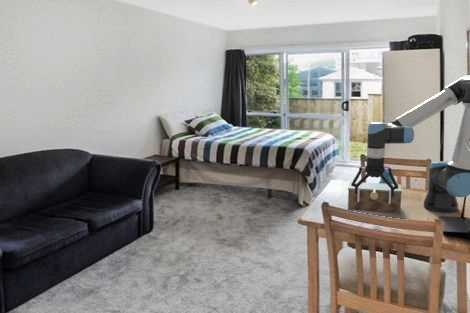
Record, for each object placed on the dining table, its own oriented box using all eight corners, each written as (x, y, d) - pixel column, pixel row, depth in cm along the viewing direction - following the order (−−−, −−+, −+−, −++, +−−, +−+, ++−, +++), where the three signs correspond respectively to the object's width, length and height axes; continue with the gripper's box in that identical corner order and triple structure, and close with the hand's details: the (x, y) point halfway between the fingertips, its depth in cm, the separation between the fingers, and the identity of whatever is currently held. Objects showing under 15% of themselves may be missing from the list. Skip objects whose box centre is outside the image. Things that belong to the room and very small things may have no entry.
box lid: (400, 188, 201) (400, 181, 200) (403, 202, 179) (403, 194, 179) (349, 186, 209) (349, 179, 208) (346, 198, 187) (346, 191, 187)
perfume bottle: (397, 193, 224) (399, 167, 221) (387, 196, 218) (388, 169, 216) (383, 190, 231) (384, 164, 228) (373, 193, 226) (374, 166, 223)
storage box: (399, 205, 202) (399, 186, 201) (400, 213, 191) (401, 193, 189) (349, 202, 210) (350, 184, 208) (348, 209, 199) (348, 190, 197)
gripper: (346, 157, 182) (345, 202, 186) (406, 159, 174) (403, 206, 178) (347, 154, 189) (346, 197, 193) (405, 156, 181) (402, 201, 185)
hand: (373, 202), depth 185 cm, fingers open, 13 cm apart
